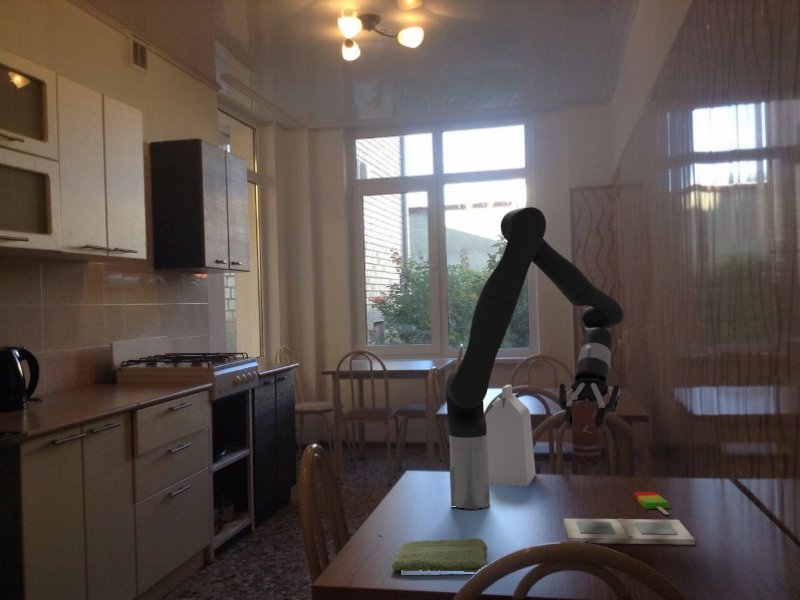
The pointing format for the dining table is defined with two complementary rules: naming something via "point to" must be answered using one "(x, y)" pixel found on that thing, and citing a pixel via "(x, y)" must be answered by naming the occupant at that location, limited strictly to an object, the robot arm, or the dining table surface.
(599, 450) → the can
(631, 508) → the dining table surface
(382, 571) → the dining table surface
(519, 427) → the milk
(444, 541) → the washcloth
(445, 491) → the dining table surface
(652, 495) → the popsicle
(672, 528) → the white flat rectangular tray
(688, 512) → the dining table surface
